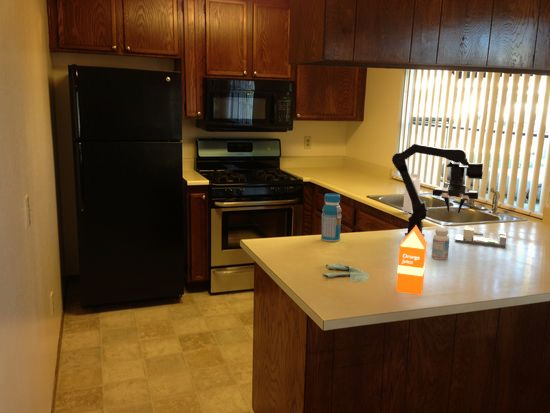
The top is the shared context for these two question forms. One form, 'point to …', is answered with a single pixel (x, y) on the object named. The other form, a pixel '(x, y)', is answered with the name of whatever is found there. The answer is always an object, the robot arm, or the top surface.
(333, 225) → the beverage bottle
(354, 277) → the cloth
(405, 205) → the milk
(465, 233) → the white square block
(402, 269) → the orange juice
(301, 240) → the top surface
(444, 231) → the pill bottle
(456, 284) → the top surface
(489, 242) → the gauge base
